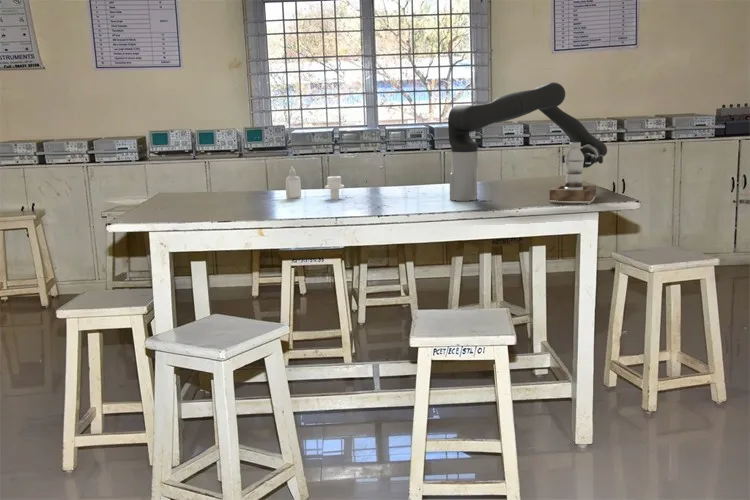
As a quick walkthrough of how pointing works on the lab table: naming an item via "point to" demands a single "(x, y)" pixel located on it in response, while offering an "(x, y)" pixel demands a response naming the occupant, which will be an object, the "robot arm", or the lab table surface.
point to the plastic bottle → (574, 167)
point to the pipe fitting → (334, 186)
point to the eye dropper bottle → (293, 185)
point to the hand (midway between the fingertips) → (579, 160)
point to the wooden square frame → (572, 193)
